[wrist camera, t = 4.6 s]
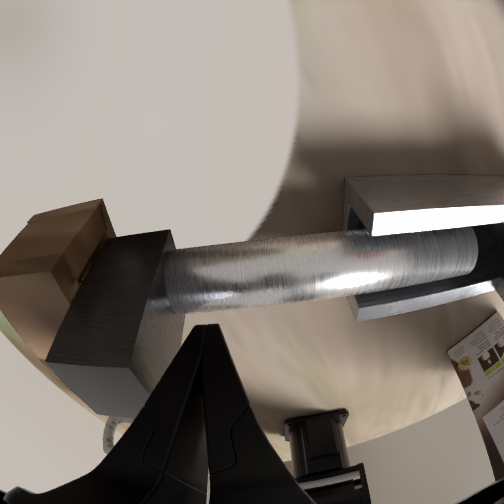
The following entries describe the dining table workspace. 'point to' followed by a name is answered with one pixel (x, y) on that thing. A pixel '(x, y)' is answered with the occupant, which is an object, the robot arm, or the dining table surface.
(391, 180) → the sleeve
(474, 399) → the coffee box
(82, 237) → the brown box
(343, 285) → the rod
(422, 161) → the dining table surface
